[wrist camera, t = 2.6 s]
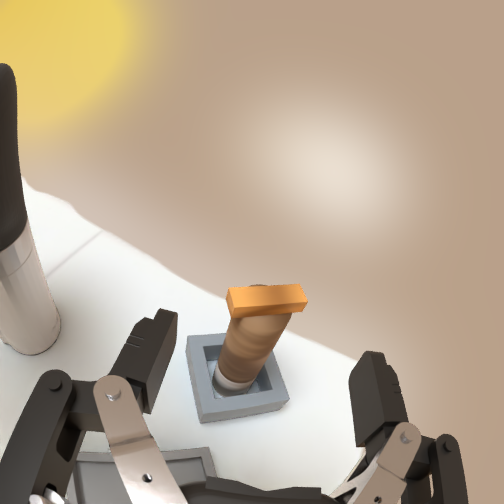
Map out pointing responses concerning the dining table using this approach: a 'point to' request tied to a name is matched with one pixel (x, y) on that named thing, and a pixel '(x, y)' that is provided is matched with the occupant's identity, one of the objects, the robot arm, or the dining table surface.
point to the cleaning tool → (253, 332)
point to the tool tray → (110, 482)
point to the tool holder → (234, 406)
